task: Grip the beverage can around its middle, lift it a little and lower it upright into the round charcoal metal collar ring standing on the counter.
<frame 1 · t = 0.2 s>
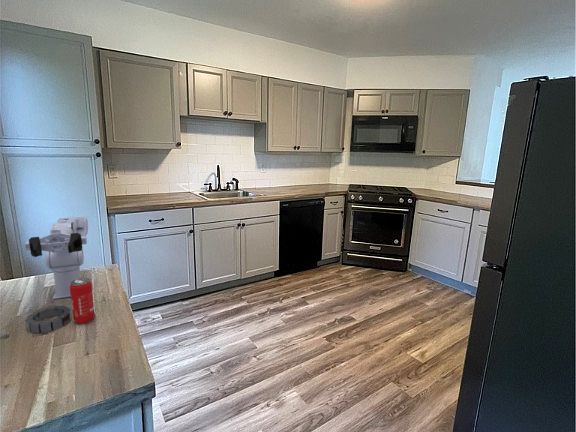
hand: (52, 251, 86), 21 cm above the worktop, tool horizontal, fingers open, 7 cm apart
beverage can: (84, 320, 92), on the worktop
collar ring: (49, 322, 89), on the worktop
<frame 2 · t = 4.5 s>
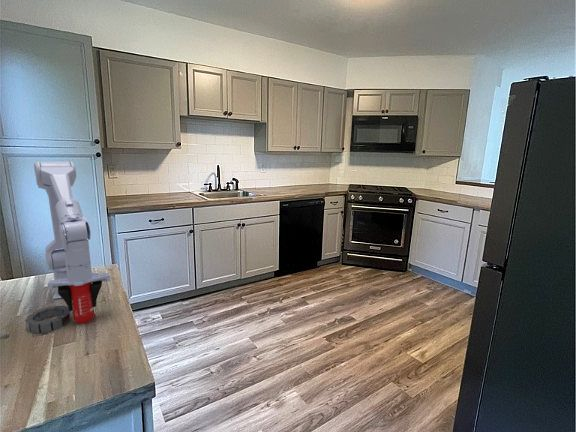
hand: (83, 307, 91), 4 cm above the worktop, tool pointing down, fingers closed on beverage can, 5 cm apart
beverage can: (84, 320, 92), on the worktop, touching gripper
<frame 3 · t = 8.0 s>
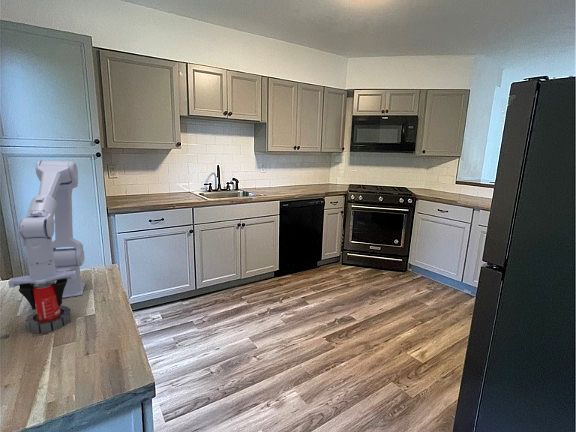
hand: (47, 306, 88), 5 cm above the worktop, tool pointing down, fingers closed on beverage can, 5 cm apart
beverage can: (50, 323, 89), resting in collar ring, touching gripper
when the fingers open (5 cm above the worktop, at t = 8.5 s): beverage can stays where it is, resting in collar ring.
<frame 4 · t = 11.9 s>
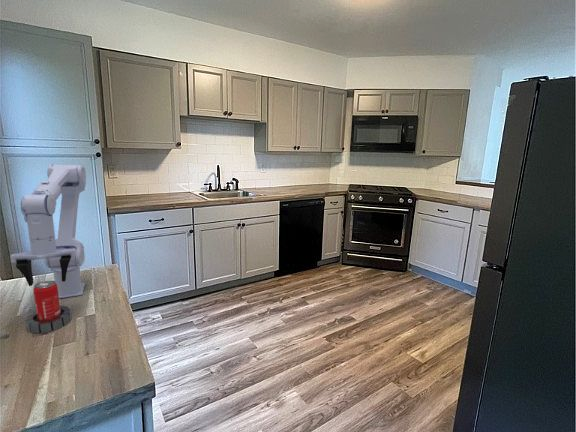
hand: (48, 282, 91), 10 cm above the worktop, tool pointing down, fingers open, 7 cm apart
beverage can: (50, 324, 89), resting in collar ring
at the end: beverage can 0.5 cm off-centre on the collar ring, point 0.0 cm above the collar ring's base; beverage can tilted 0°; the gripper is holding nothing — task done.
